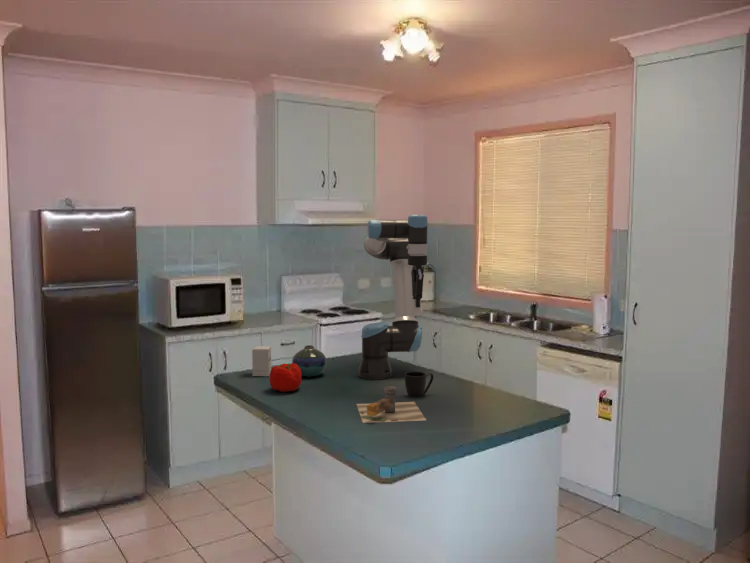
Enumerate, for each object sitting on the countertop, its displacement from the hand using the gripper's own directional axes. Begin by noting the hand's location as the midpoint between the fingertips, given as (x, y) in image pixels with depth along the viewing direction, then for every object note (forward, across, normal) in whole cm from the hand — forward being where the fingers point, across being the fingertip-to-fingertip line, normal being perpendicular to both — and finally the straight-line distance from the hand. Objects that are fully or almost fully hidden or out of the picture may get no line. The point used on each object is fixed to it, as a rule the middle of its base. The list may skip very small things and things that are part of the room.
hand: (417, 315), depth 250 cm
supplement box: (+33, -42, -62) cm, 82 cm away
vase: (+33, -39, -41) cm, 65 cm away
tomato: (+33, -16, -51) cm, 63 cm away
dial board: (+32, +22, -14) cm, 42 cm away
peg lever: (+31, +26, -17) cm, 44 cm away
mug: (+33, +1, +1) cm, 33 cm away
